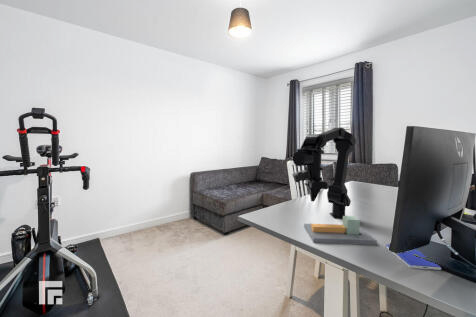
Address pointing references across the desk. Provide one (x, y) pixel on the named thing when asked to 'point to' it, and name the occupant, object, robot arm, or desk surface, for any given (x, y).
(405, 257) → the hard drive
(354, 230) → the pale green block
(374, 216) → the desk surface
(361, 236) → the socket plate
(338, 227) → the bar
